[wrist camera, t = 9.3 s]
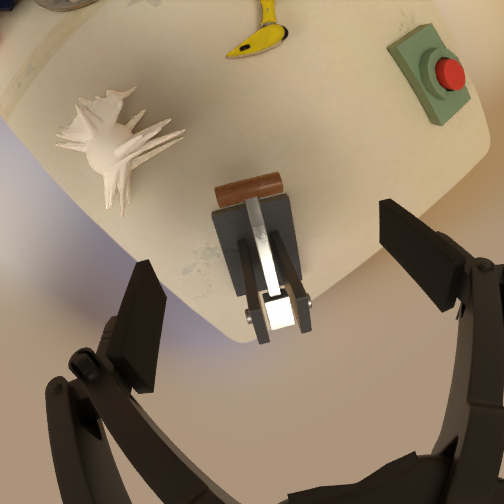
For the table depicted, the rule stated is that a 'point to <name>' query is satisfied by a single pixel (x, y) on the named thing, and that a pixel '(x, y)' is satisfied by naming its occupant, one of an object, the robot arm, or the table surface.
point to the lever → (261, 239)
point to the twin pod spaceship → (262, 34)
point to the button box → (428, 72)
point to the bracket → (248, 262)
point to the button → (450, 74)
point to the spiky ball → (113, 142)
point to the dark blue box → (7, 5)
